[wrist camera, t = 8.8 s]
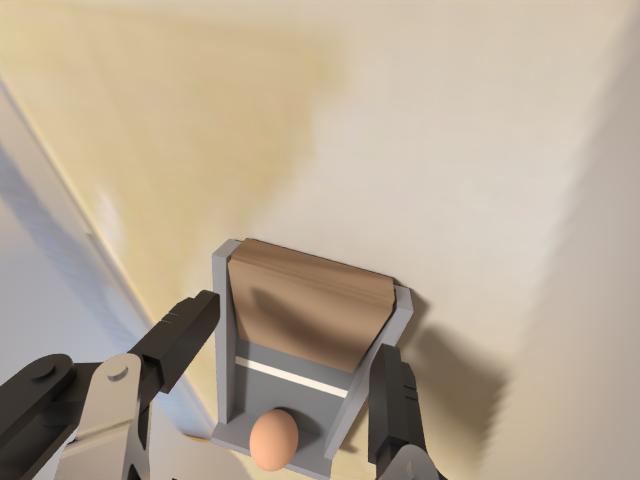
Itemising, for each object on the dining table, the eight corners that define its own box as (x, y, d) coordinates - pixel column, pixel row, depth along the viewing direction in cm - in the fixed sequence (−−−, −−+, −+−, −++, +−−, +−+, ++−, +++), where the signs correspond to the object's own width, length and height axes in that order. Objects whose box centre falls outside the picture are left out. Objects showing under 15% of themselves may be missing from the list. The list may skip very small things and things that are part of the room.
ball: (241, 449, 18) (239, 470, 20) (293, 467, 17) (286, 486, 19) (263, 393, 21) (259, 416, 23) (306, 408, 21) (299, 430, 23)
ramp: (252, 231, 15) (227, 257, 12) (391, 269, 14) (395, 305, 12) (246, 326, 19) (227, 359, 17) (353, 358, 18) (349, 398, 16)
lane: (229, 238, 14) (197, 267, 12) (409, 288, 14) (417, 330, 11) (228, 407, 24) (211, 442, 22) (332, 441, 24) (327, 482, 21)
